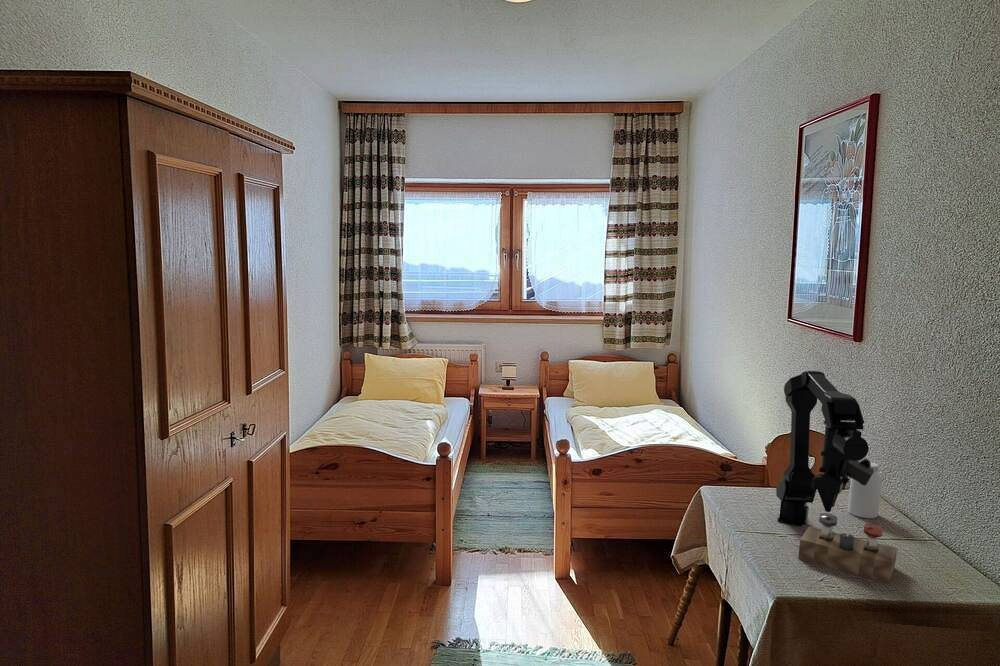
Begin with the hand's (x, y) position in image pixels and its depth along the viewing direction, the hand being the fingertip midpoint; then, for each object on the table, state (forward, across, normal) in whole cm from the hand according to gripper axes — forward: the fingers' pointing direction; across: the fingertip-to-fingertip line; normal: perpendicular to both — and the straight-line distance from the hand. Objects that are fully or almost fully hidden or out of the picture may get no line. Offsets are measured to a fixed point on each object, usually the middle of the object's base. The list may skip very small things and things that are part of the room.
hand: (829, 509), depth 180 cm
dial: (+8, -3, -5) cm, 10 cm away
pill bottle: (+13, +38, -3) cm, 40 cm away
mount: (+12, 0, -5) cm, 13 cm away
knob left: (+9, 0, 0) cm, 9 cm away
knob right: (+9, 0, -10) cm, 13 cm away
